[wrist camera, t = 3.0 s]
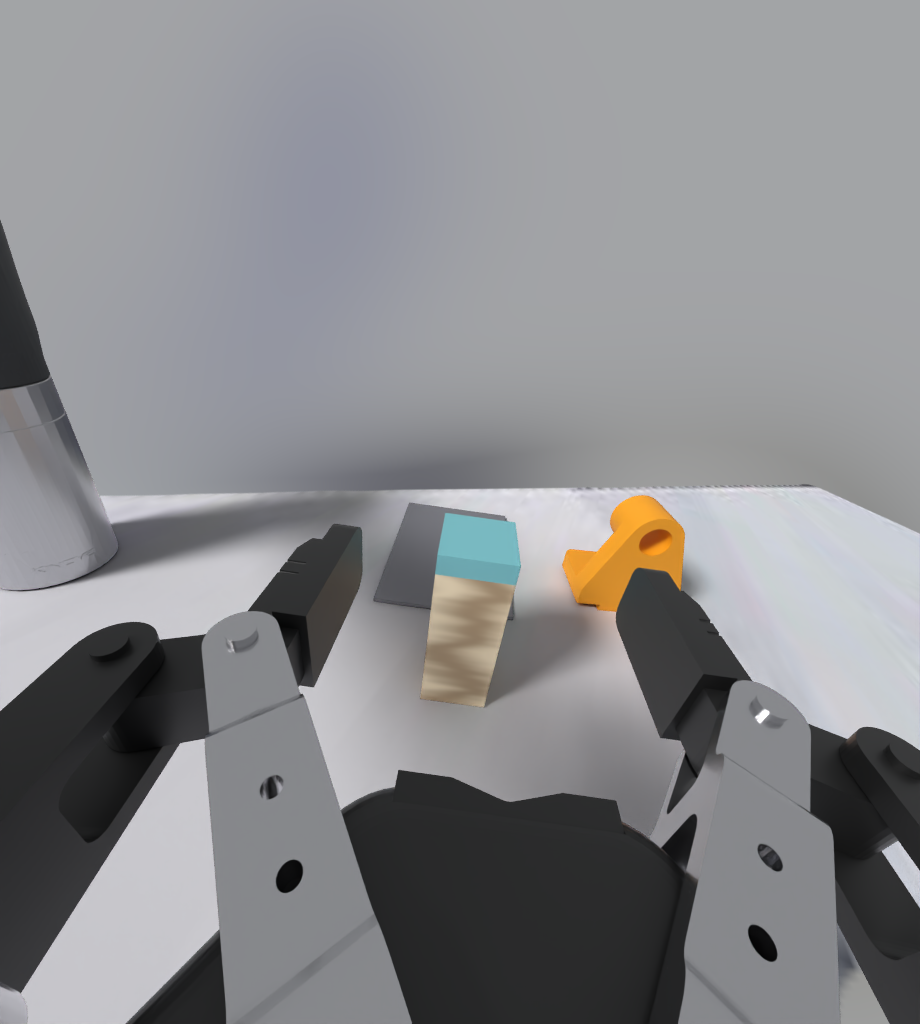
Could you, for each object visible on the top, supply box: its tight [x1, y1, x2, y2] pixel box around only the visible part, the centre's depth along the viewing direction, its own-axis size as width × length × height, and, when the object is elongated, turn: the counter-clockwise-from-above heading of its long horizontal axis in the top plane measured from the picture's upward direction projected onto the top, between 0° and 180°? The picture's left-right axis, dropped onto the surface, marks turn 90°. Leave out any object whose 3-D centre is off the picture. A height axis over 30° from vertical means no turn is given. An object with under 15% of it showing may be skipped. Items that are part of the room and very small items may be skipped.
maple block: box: [420, 513, 521, 707], centre depth 28 cm, size 5×5×14 cm
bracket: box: [562, 495, 685, 612], centre depth 41 cm, size 11×7×12 cm, turn 90°
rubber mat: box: [374, 503, 513, 620], centre depth 46 cm, size 20×14×1 cm
